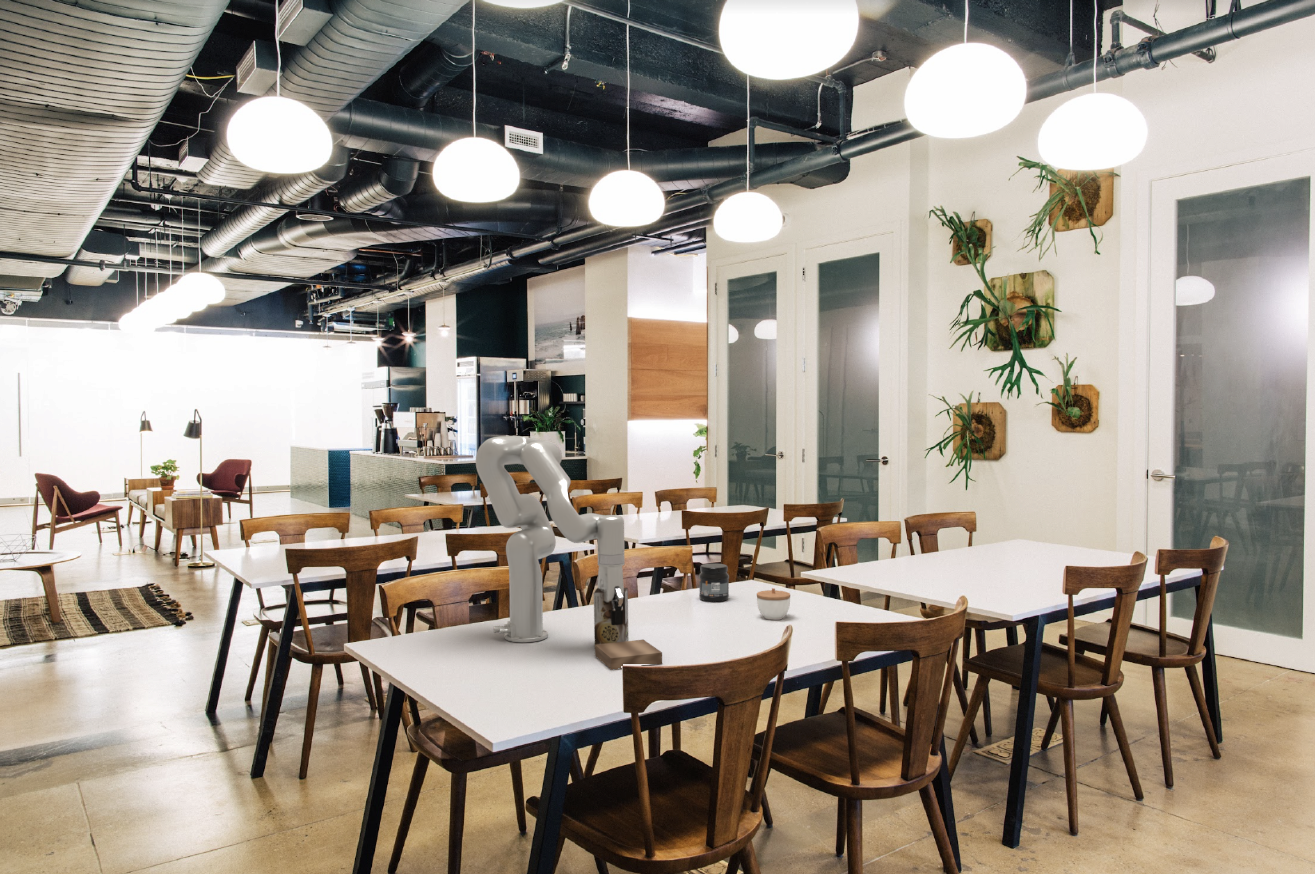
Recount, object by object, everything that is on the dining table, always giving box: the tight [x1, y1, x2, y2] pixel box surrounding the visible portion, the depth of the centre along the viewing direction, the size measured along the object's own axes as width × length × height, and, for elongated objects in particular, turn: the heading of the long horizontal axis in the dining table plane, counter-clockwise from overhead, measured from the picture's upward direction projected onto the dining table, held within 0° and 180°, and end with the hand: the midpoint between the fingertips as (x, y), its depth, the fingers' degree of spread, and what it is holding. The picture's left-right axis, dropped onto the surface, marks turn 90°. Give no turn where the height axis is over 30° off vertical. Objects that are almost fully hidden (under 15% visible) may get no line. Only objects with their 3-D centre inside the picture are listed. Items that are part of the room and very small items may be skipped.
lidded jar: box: [756, 587, 791, 621], centre depth 270 cm, size 11×11×9 cm
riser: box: [594, 639, 663, 671], centre depth 224 cm, size 14×14×3 cm
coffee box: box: [593, 587, 630, 650], centre depth 237 cm, size 9×6×16 cm
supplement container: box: [698, 563, 730, 603], centre depth 298 cm, size 10×10×12 cm
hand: (611, 620), depth 236 cm, fingers closed on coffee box, 8 cm apart
